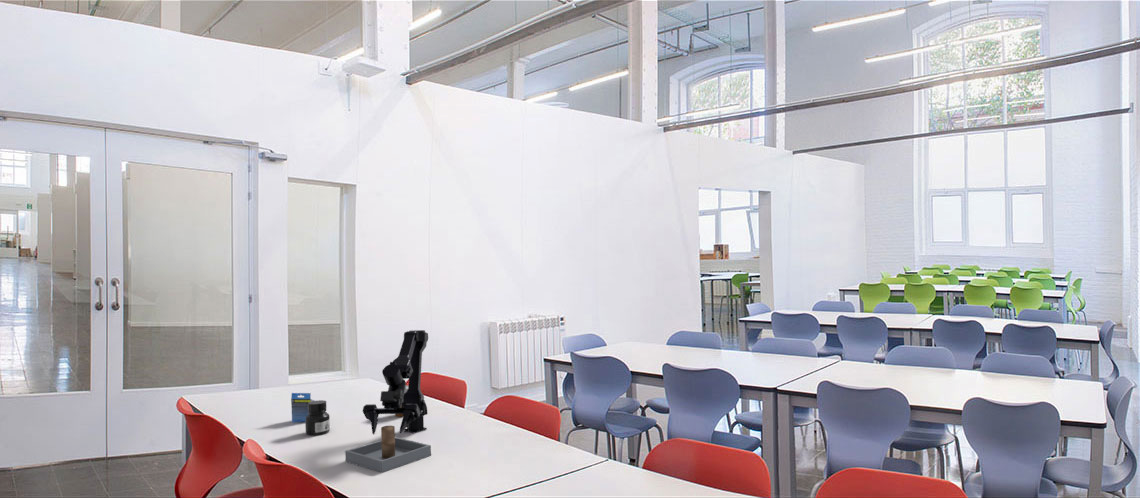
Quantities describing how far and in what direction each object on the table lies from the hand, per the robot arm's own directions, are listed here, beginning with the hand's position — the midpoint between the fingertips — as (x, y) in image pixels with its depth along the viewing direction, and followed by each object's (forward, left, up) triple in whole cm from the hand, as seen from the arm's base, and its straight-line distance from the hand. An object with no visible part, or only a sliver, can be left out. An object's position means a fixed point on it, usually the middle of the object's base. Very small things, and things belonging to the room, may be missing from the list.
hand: (386, 433), depth 217 cm
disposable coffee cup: (+45, -42, -9) cm, 62 cm away
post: (+1, -1, -8) cm, 8 cm away
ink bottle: (+52, -6, -9) cm, 53 cm away
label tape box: (+74, -13, -9) cm, 75 cm away
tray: (+1, -1, -9) cm, 9 cm away
